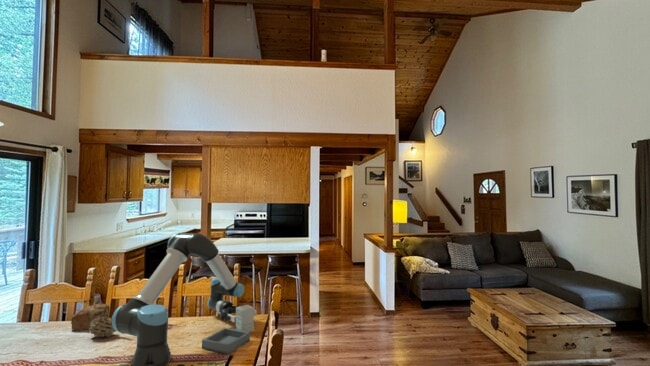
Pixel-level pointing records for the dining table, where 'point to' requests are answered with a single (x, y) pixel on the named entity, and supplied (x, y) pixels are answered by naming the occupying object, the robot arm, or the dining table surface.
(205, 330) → the dining table surface
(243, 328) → the supplement box
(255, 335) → the dining table surface
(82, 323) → the bread
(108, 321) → the pine cone
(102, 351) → the dining table surface
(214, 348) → the box
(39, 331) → the dining table surface
